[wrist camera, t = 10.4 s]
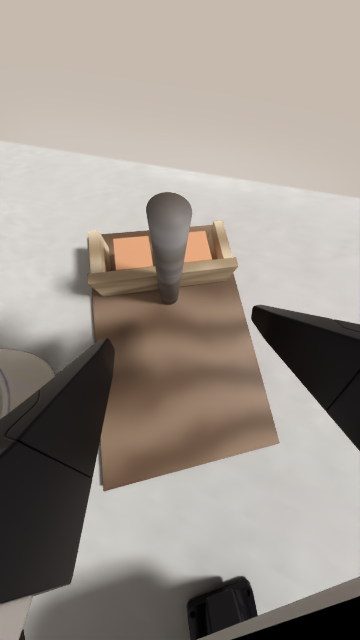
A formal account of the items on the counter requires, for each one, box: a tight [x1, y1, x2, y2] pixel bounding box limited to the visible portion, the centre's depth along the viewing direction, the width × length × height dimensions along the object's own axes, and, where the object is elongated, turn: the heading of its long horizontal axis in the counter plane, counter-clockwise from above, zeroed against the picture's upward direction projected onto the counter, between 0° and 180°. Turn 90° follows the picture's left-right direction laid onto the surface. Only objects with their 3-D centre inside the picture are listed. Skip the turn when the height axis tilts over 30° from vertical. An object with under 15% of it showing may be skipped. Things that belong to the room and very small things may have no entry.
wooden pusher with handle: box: [88, 192, 238, 305], centre depth 14 cm, size 10×18×12 cm, turn 100°
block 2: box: [184, 231, 212, 263], centre depth 19 cm, size 4×4×4 cm
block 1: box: [113, 236, 153, 271], centre depth 18 cm, size 4×4×4 cm
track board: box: [92, 225, 279, 491], centre depth 19 cm, size 31×20×1 cm, turn 10°
